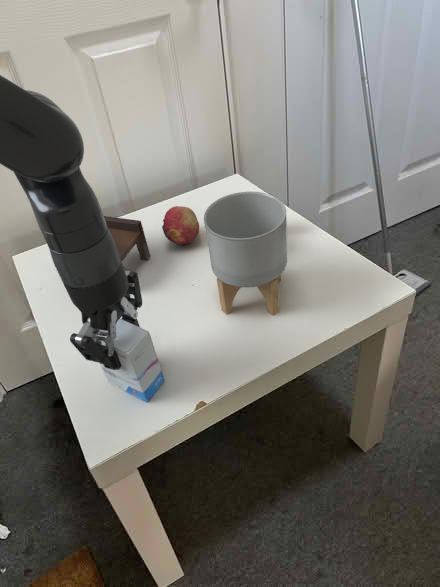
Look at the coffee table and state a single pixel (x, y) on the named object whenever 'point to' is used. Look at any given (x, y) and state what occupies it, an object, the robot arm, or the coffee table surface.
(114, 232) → the small wooden stool
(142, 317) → the coffee table surface
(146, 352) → the ink box
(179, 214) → the fruit
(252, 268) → the planter
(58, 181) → the robot arm
